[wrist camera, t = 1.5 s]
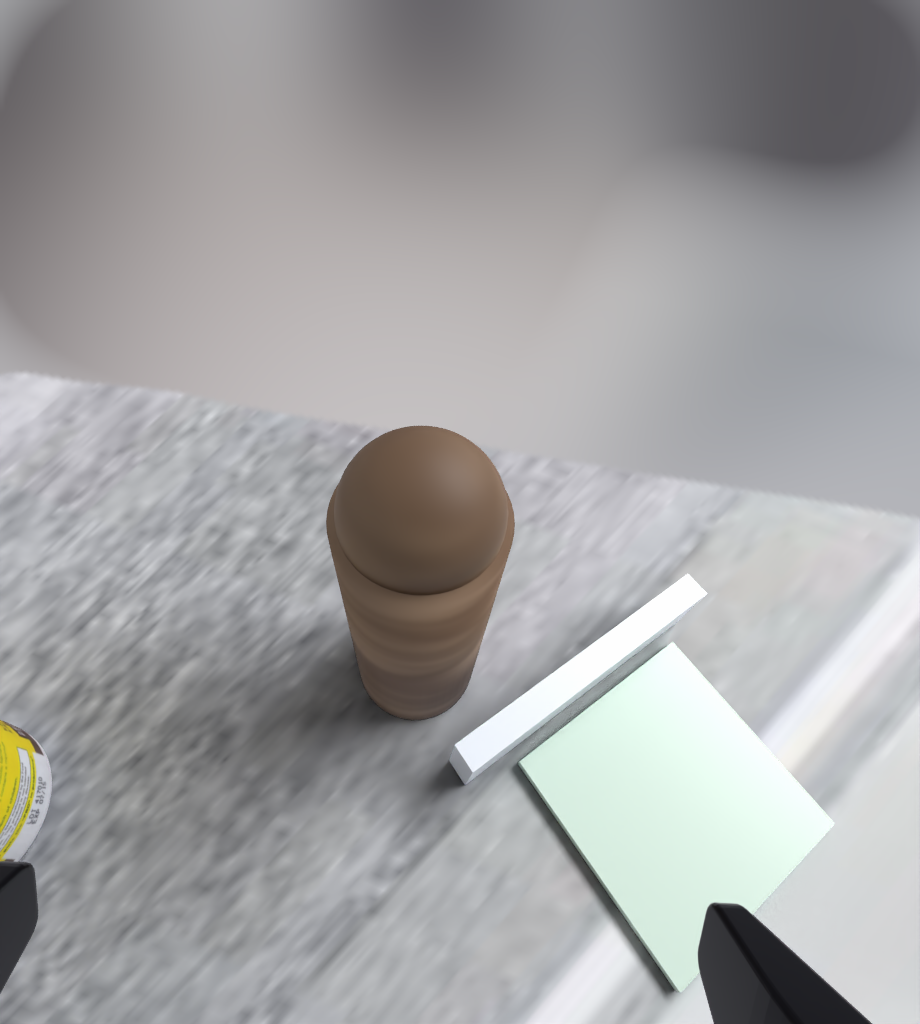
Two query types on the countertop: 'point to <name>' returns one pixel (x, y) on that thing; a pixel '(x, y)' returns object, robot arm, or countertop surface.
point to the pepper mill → (419, 563)
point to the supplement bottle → (21, 791)
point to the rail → (572, 680)
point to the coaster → (674, 806)
